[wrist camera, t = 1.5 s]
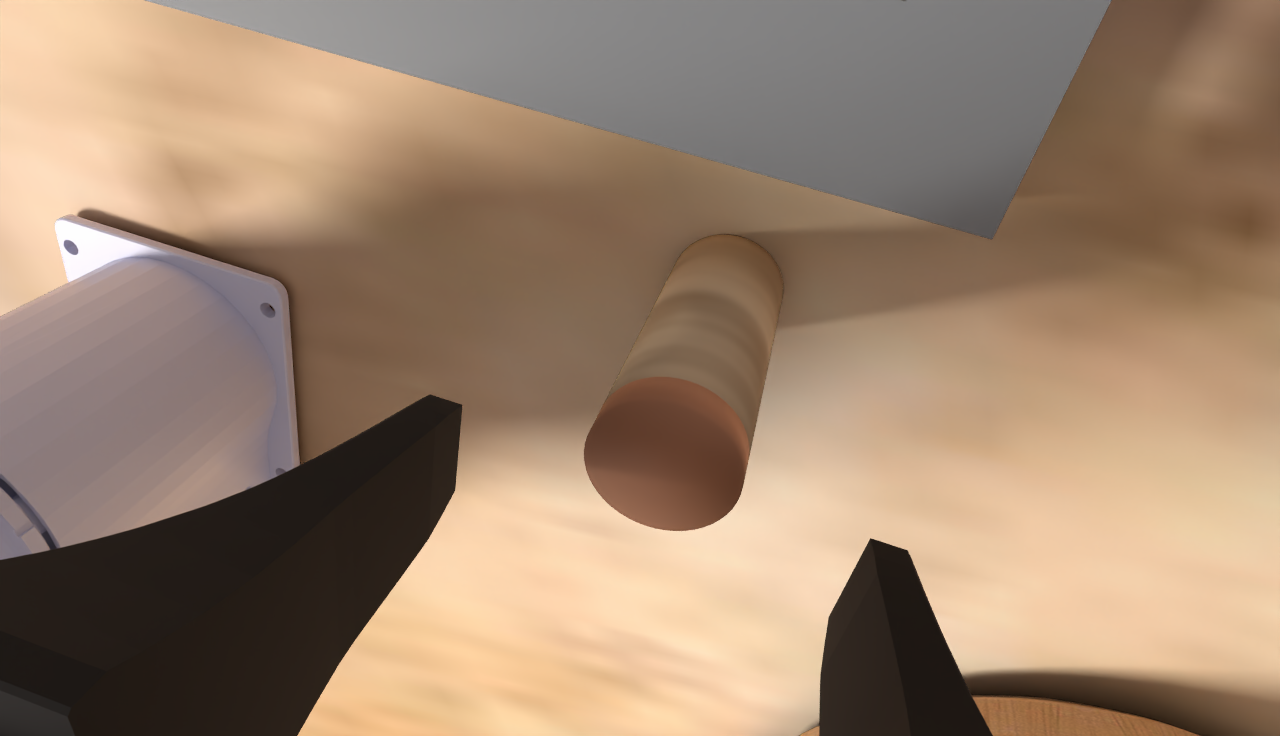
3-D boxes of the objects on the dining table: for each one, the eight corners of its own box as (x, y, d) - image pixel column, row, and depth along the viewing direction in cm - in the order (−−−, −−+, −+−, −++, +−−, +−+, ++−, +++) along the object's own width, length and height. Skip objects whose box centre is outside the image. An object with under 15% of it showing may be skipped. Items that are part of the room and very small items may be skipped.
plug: (764, 350, 21) (719, 550, 15) (661, 318, 22) (573, 501, 15) (798, 253, 20) (764, 431, 13) (685, 220, 20) (598, 379, 14)
